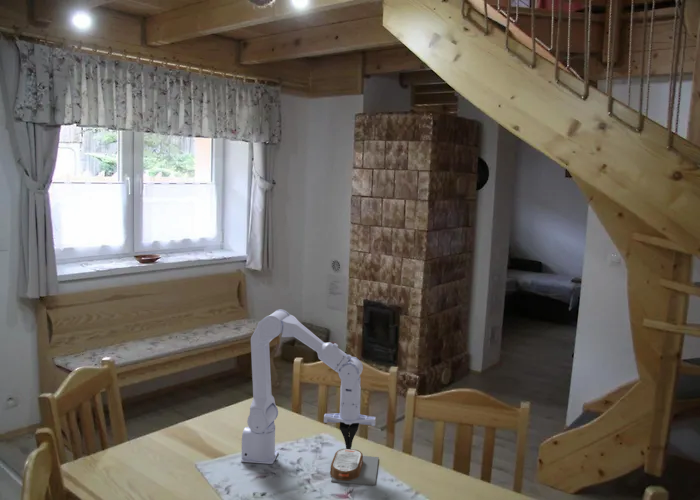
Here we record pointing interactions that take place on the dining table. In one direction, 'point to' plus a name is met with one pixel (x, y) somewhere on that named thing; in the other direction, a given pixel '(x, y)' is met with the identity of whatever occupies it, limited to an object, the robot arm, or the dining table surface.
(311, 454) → the dining table surface
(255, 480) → the dining table surface
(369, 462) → the mat
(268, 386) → the robot arm
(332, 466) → the tin
